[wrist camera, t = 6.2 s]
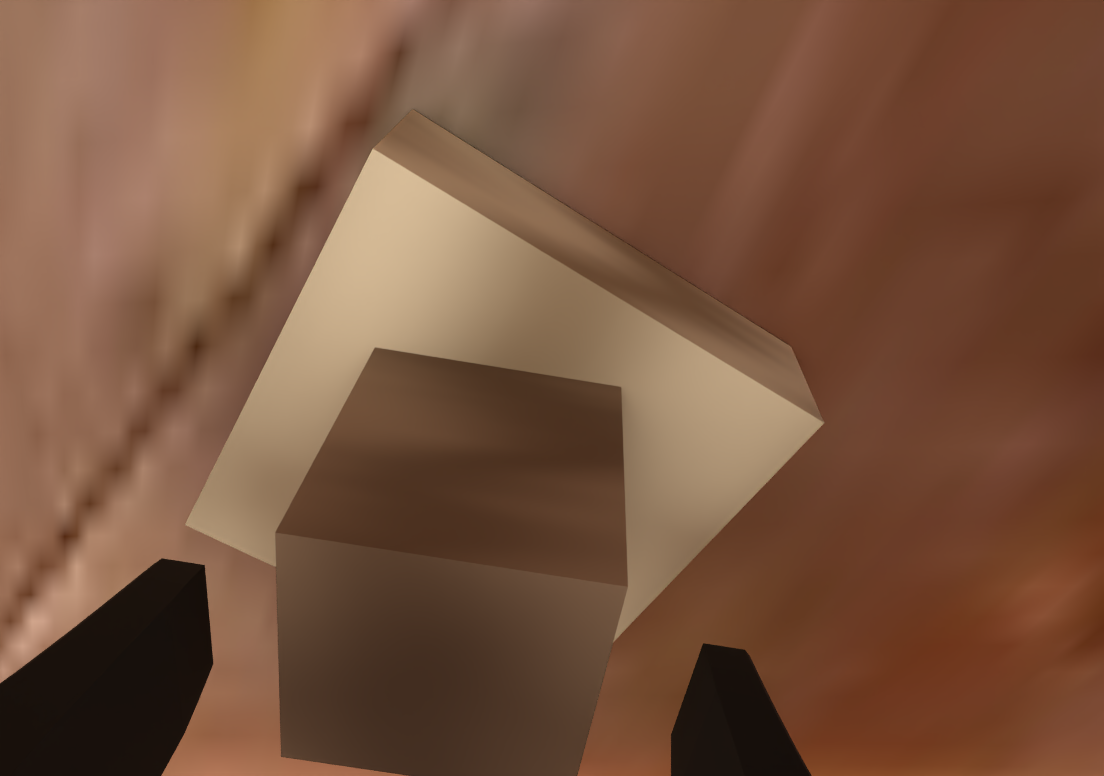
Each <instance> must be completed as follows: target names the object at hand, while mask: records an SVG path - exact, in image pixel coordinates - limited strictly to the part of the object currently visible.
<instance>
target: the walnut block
mask: <svg viewBox="0 0 1104 776" xmlns="http://www.w3.org/2000/svg"><path fill="white" fill-rule="evenodd" d="M275 547H276V584H277V621H278V659H279V696H280V733H281V757H286V758H293V759H299V760H306V761H313V762H320V763H327V764H334V765H340V766H347V767H354V768H361V769H368V770H374V771H381V772H388V773H395V774H402V775H408V776H577V775H578V771H579V767H580V763H581V760H582V756H583V752H584V749H585V745H586V741H587V737H588V734H589V730H590V726H591V723H592V719H593V715H594V711H595V708H596V704H597V700H598V697H599V693H600V689H601V685H602V682H603V678H604V674H605V671H606V667H607V663H608V659H609V656H610V652H611V648H612V645H613V641H614V637H615V633H616V630H617V626H618V622H619V619H620V615H621V611H622V607H623V604H624V600H625V596H626V593H627V589H628V572H627V543H626V513H625V483H624V453H623V423H622V394H621V387H619V386H613V385H607V384H600V383H594V382H588V381H582V380H575V379H569V378H563V377H557V376H550V375H544V374H538V373H532V372H526V371H519V370H513V369H507V368H501V367H494V366H488V365H482V364H476V363H470V362H463V361H457V360H451V359H445V358H438V357H432V356H426V355H420V354H413V353H407V352H401V351H395V350H389V349H382V348H376V347H375V348H374V350H373V352H372V354H371V356H370V357H369V359H368V361H367V363H366V365H365V367H364V369H363V370H362V372H361V374H360V376H359V378H358V380H357V382H356V383H355V385H354V387H353V389H352V391H351V393H350V395H349V396H348V398H347V400H346V402H345V404H344V406H343V408H342V409H341V411H340V413H339V415H338V417H337V419H336V421H335V422H334V424H333V426H332V428H331V430H330V432H329V433H328V435H327V437H326V439H325V441H324V443H323V445H322V446H321V448H320V450H319V452H318V454H317V456H316V458H315V459H314V461H313V463H312V465H311V467H310V469H309V471H308V472H307V474H306V476H305V478H304V480H303V482H302V484H301V485H300V487H299V489H298V491H297V493H296V495H295V497H294V498H293V500H292V502H291V504H290V506H289V508H288V510H287V511H286V513H285V515H284V517H283V519H282V521H281V523H280V524H279V526H278V528H277V530H276V532H275Z"/></svg>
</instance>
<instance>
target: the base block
mask: <svg viewBox="0 0 1104 776" xmlns="http://www.w3.org/2000/svg"><path fill="white" fill-rule="evenodd" d="M375 347H376V348H382V349H389V350H395V351H401V352H407V353H413V354H420V355H426V356H432V357H438V358H445V359H451V360H457V361H463V362H470V363H476V364H482V365H488V366H494V367H501V368H507V369H513V370H519V371H526V372H532V373H538V374H544V375H550V376H557V377H563V378H569V379H575V380H582V381H588V382H594V383H600V384H607V385H613V386H619V387H621V394H622V423H623V453H624V483H625V513H626V543H627V572H628V589H627V593H626V596H625V600H624V604H623V607H622V611H621V615H620V619H619V622H618V626H617V630H616V633H615V637H614V641H615V640H616V639H617V638H618V637H619V636H620V634H621V633H622V632H623V631H624V630H625V629H626V628H627V627H628V626H629V625H630V624H631V623H632V622H633V621H634V620H635V619H636V618H637V617H638V616H639V615H640V614H641V613H642V612H643V611H644V610H645V609H646V607H647V606H648V605H649V604H650V603H651V602H652V601H653V600H654V599H655V598H656V597H657V596H658V595H659V594H660V593H661V592H662V591H663V590H664V589H665V588H666V587H667V586H668V585H669V584H670V583H671V582H672V580H673V579H674V578H675V577H676V576H677V575H678V574H679V573H680V572H681V571H682V570H683V569H684V568H685V567H686V566H687V565H688V564H689V563H690V562H691V561H692V560H693V559H694V558H695V557H696V556H697V554H698V553H699V552H700V551H701V550H702V549H703V548H704V547H705V546H706V545H707V544H708V543H709V542H710V541H711V540H712V539H713V538H714V537H715V536H716V535H717V534H718V533H719V532H720V531H721V530H722V529H723V527H724V526H725V525H726V524H727V523H728V522H729V521H730V520H731V519H732V518H733V517H734V516H735V515H736V514H737V513H738V512H739V511H740V510H741V509H742V508H743V507H744V506H745V505H746V504H747V503H748V502H749V500H750V499H751V498H752V497H753V496H754V495H755V494H756V493H757V492H758V491H759V490H760V489H761V488H762V487H763V486H764V485H765V484H766V483H767V482H768V481H769V480H770V479H771V478H772V477H773V476H774V475H775V473H776V472H777V471H778V470H779V469H780V468H781V467H782V466H783V465H784V464H785V463H786V462H787V461H788V460H789V459H790V458H791V457H792V456H793V455H794V454H795V453H796V452H797V451H798V450H799V449H800V448H801V446H802V445H803V444H804V443H805V442H806V441H807V440H808V439H809V438H810V437H811V436H812V435H813V434H814V433H815V432H816V431H817V430H818V429H819V428H820V427H821V426H822V425H823V424H824V421H823V419H822V417H821V414H820V412H819V410H818V407H817V405H816V403H815V400H814V398H813V396H812V394H811V391H810V389H809V387H808V384H807V382H806V380H805V377H804V375H803V373H802V371H801V368H800V366H799V364H798V361H797V359H796V357H795V354H794V352H793V350H792V348H791V346H789V345H788V344H786V343H784V342H783V341H781V340H780V339H778V338H776V337H775V336H773V335H772V334H770V333H769V332H767V331H765V330H764V329H762V328H761V327H759V326H757V325H756V324H754V323H753V322H751V321H749V320H748V319H746V318H745V317H743V316H741V315H740V314H738V313H737V312H735V311H733V310H732V309H730V308H729V307H727V306H725V305H724V304H722V303H721V302H719V301H717V300H716V299H714V298H713V297H711V296H710V295H708V294H706V293H705V292H703V291H702V290H700V289H698V288H697V287H695V286H694V285H692V284H690V283H689V282H687V281H686V280H684V279H682V278H681V277H679V276H678V275H676V274H674V273H673V272H671V271H670V270H668V269H666V268H665V267H663V266H662V265H660V264H659V263H657V262H655V261H654V260H652V259H651V258H649V257H647V256H646V255H644V254H643V253H641V252H639V251H638V250H636V249H635V248H633V247H631V246H630V245H628V244H627V243H625V242H623V241H622V240H620V239H619V238H617V237H615V236H614V235H612V234H611V233H609V232H607V231H606V230H604V229H603V228H601V227H600V226H598V225H596V224H595V223H593V222H592V221H590V220H588V219H587V218H585V217H584V216H582V215H580V214H579V213H577V212H576V211H574V210H572V209H571V208H569V207H568V206H566V205H564V204H563V203H561V202H560V201H558V200H556V199H555V198H553V197H552V196H550V195H549V194H547V193H545V192H544V191H542V190H541V189H539V188H537V187H536V186H534V185H533V184H531V183H529V182H528V181H526V180H525V179H523V178H521V177H520V176H518V175H517V174H515V173H513V172H512V171H510V170H509V169H507V168H505V167H504V166H502V165H501V164H499V163H497V162H496V161H494V160H493V159H491V158H490V157H488V156H486V155H485V154H483V153H482V152H480V151H478V150H477V149H475V148H474V147H472V146H470V145H469V144H467V143H466V142H464V141H462V140H461V139H459V138H458V137H456V136H454V135H453V134H451V133H450V132H448V131H446V130H445V129H443V128H442V127H440V126H439V125H437V124H435V123H434V122H432V121H431V120H429V119H427V118H426V117H424V116H423V115H421V114H419V113H418V112H416V111H415V110H413V109H412V110H411V111H410V112H409V113H408V114H407V115H406V116H405V117H404V118H403V119H402V120H401V121H400V122H399V123H398V124H397V125H396V126H395V127H394V128H393V129H392V130H391V131H390V132H389V133H388V134H387V135H386V136H385V137H384V138H383V139H382V140H381V141H380V142H379V143H378V144H377V145H376V146H375V147H374V148H373V149H372V151H371V153H370V155H369V157H368V159H367V161H366V163H365V165H364V167H363V169H362V171H361V173H360V175H359V177H358V179H357V181H356V183H355V185H354V187H353V189H352V191H351V193H350V195H349V197H348V199H347V201H346V203H345V205H344V207H343V209H342V211H341V213H340V215H339V217H338V219H337V221H336V223H335V225H334V227H333V229H332V231H331V233H330V235H329V237H328V239H327V241H326V243H325V245H324V247H323V249H322V251H321V253H320V255H319V257H318V259H317V261H316V263H315V265H314V267H313V269H312V271H311V273H310V275H309V277H308V279H307V281H306V283H305V285H304V287H303V289H302V291H301V293H300V295H299V297H298V299H297V301H296V303H295V305H294V307H293V309H292V311H291V313H290V315H289V317H288V319H287V321H286V323H285V325H284V327H283V329H282V331H281V333H280V335H279V337H278V339H277V341H276V343H275V345H274V347H273V349H272V351H271V353H270V355H269V357H268V359H267V361H266V363H265V365H264V367H263V369H262V371H261V373H260V376H259V378H258V380H257V382H256V384H255V386H254V388H253V390H252V392H251V394H250V396H249V398H248V400H247V402H246V404H245V406H244V408H243V410H242V412H241V414H240V416H239V418H238V420H237V422H236V424H235V426H234V428H233V430H232V432H231V434H230V436H229V438H228V440H227V442H226V444H225V446H224V448H223V450H222V452H221V454H220V456H219V458H218V460H217V462H216V464H215V466H214V468H213V470H212V472H211V474H210V476H209V478H208V480H207V482H206V484H205V486H204V488H203V490H202V492H201V494H200V496H199V498H198V500H197V502H196V504H195V506H194V508H193V510H192V512H191V514H190V516H189V518H188V520H187V522H186V524H185V525H186V526H188V527H191V528H193V529H195V530H197V531H199V532H201V533H203V534H206V535H208V536H210V537H212V538H214V539H216V540H218V541H221V542H223V543H225V544H227V545H229V546H231V547H233V548H236V549H238V550H240V551H242V552H244V553H246V554H248V555H251V556H253V557H255V558H257V559H259V560H261V561H263V562H265V563H268V564H270V565H272V566H274V567H276V547H275V532H276V530H277V528H278V526H279V524H280V523H281V521H282V519H283V517H284V515H285V513H286V511H287V510H288V508H289V506H290V504H291V502H292V500H293V498H294V497H295V495H296V493H297V491H298V489H299V487H300V485H301V484H302V482H303V480H304V478H305V476H306V474H307V472H308V471H309V469H310V467H311V465H312V463H313V461H314V459H315V458H316V456H317V454H318V452H319V450H320V448H321V446H322V445H323V443H324V441H325V439H326V437H327V435H328V433H329V432H330V430H331V428H332V426H333V424H334V422H335V421H336V419H337V417H338V415H339V413H340V411H341V409H342V408H343V406H344V404H345V402H346V400H347V398H348V396H349V395H350V393H351V391H352V389H353V387H354V385H355V383H356V382H357V380H358V378H359V376H360V374H361V372H362V370H363V369H364V367H365V365H366V363H367V361H368V359H369V357H370V356H371V354H372V352H373V350H374V348H375ZM614 641H613V642H614Z"/></svg>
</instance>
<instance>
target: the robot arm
mask: <svg viewBox="0 0 1104 776" xmlns="http://www.w3.org/2000/svg"><path fill="white" fill-rule="evenodd" d="M212 666H213V655H212V644H211V632H210V621H209V609H208V598H207V587H206V575H205V565H200V564H194V563H188V562H181V561H175V560H168V559H161V560H159V561H158V562H156V563H155V564H153V565H152V566H151V567H150V568H148V569H147V570H146V571H144V572H143V573H142V574H141V575H139V576H138V577H137V578H136V579H134V580H133V581H132V582H131V583H129V584H128V585H127V586H126V587H125V588H123V589H122V590H121V591H120V592H118V593H117V594H116V595H115V596H113V597H112V598H111V599H110V600H108V601H107V602H106V603H105V604H103V605H102V606H101V607H100V608H98V609H97V610H96V611H95V612H93V613H92V614H91V615H90V616H88V617H87V618H86V619H84V620H83V621H82V622H81V623H79V624H78V625H77V626H76V627H74V628H73V629H72V630H71V631H69V632H68V633H67V634H65V635H64V636H63V637H61V638H60V639H59V640H57V641H56V642H55V643H53V644H52V645H51V646H50V647H48V648H47V649H46V650H44V651H43V652H42V653H40V654H39V655H38V656H36V657H35V658H34V659H32V660H31V661H30V662H29V663H27V664H26V665H25V666H23V667H22V668H21V669H19V670H18V671H17V672H15V673H14V674H12V675H11V676H10V677H8V678H7V679H6V680H4V681H3V682H1V683H0V776H161V775H162V773H163V771H164V770H165V768H166V766H167V764H168V762H169V761H170V759H171V757H172V755H173V753H174V752H175V750H176V748H177V746H178V744H179V742H180V740H181V739H182V737H183V735H184V733H185V731H186V728H187V726H188V724H189V721H190V719H191V717H192V714H193V712H194V710H195V708H196V705H197V703H198V700H199V698H200V695H201V693H202V691H203V688H204V686H205V683H206V681H207V678H208V676H209V673H210V671H211V668H212ZM671 776H811V774H810V772H809V770H808V769H807V767H806V765H805V763H804V762H803V760H802V758H801V756H800V754H799V752H798V751H797V749H796V747H795V745H794V743H793V741H792V739H791V738H790V736H789V734H788V732H787V730H786V728H785V726H784V724H783V722H782V720H781V718H780V716H779V715H778V713H777V711H776V709H775V707H774V705H773V703H772V701H771V699H770V697H769V695H768V693H767V691H766V689H765V687H764V685H763V683H762V681H761V678H760V676H759V674H758V672H757V670H756V668H755V666H754V664H753V662H752V660H751V658H750V656H749V655H748V653H747V652H746V651H745V650H743V649H736V648H730V647H723V646H717V645H711V644H704V643H703V646H702V648H701V651H700V654H699V657H698V660H697V663H696V665H695V668H694V671H693V674H692V677H691V680H690V683H689V685H688V688H687V691H686V694H685V697H684V700H683V702H682V705H681V708H680V711H679V714H678V717H677V720H676V722H675V725H674V728H673V731H672V734H671Z"/></svg>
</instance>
